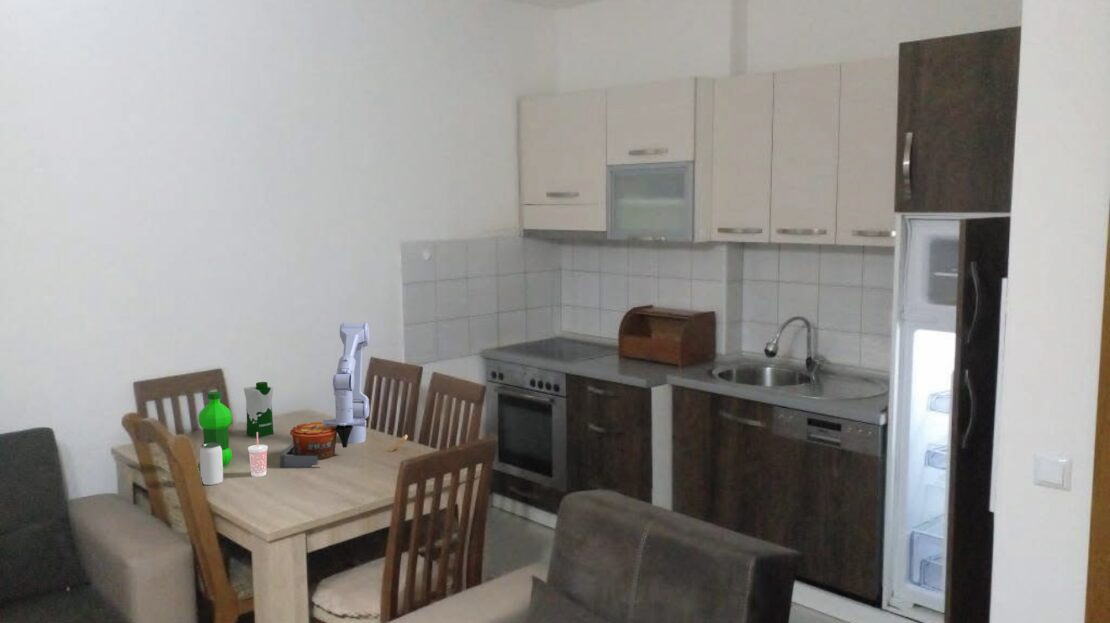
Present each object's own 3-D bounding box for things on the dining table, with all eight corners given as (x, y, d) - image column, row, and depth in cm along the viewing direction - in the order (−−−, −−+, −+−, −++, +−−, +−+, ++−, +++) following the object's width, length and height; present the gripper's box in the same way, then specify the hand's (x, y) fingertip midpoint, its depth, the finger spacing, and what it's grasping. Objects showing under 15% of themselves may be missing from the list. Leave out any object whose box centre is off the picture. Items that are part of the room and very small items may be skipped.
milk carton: (257, 438, 322) (255, 385, 320) (242, 434, 328) (240, 382, 325) (277, 433, 329) (275, 381, 327) (262, 429, 335) (260, 378, 332)
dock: (297, 448, 310) (297, 437, 310) (331, 448, 311) (331, 437, 310) (280, 467, 289) (280, 455, 288) (317, 467, 289) (316, 455, 288)
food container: (340, 462, 294) (339, 431, 293) (291, 466, 290) (290, 435, 288) (338, 449, 310) (337, 420, 308) (290, 453, 305) (290, 423, 304)
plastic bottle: (205, 462, 293) (202, 389, 290) (237, 461, 294) (234, 389, 291) (196, 471, 283) (192, 396, 280) (229, 471, 284) (226, 396, 281)
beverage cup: (248, 472, 283) (246, 430, 281) (267, 470, 285) (266, 428, 284) (249, 478, 277) (247, 435, 276) (269, 476, 280) (268, 433, 278)
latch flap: (405, 439, 305) (404, 437, 304) (388, 454, 305) (387, 451, 305) (407, 436, 310) (406, 434, 309) (391, 449, 310) (389, 447, 310)
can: (215, 486, 269) (214, 448, 268) (196, 484, 271) (195, 447, 269) (227, 479, 276) (226, 443, 274) (209, 478, 277) (207, 441, 275)
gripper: (320, 410, 294) (321, 450, 295) (363, 410, 294) (364, 450, 296) (324, 405, 301) (325, 444, 302) (367, 406, 301) (367, 444, 303)
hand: (345, 446), depth 300 cm, fingers closed
